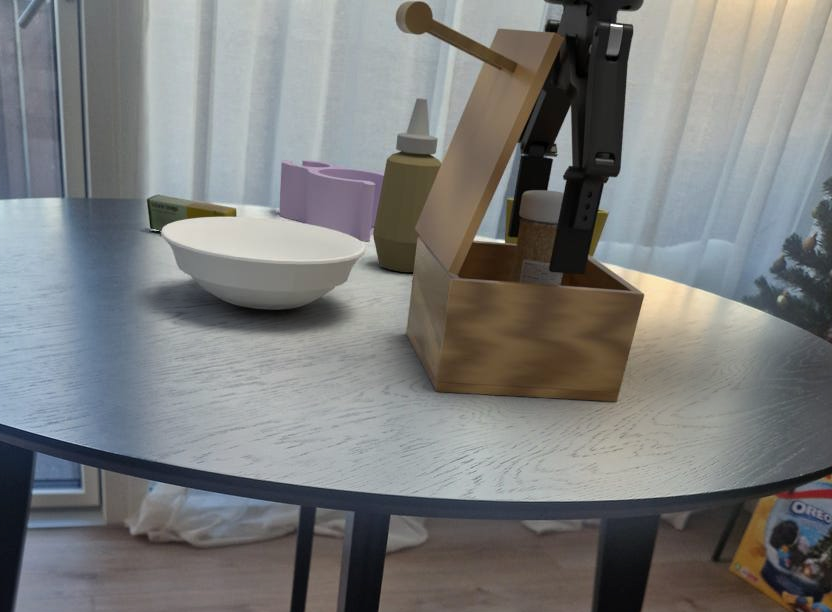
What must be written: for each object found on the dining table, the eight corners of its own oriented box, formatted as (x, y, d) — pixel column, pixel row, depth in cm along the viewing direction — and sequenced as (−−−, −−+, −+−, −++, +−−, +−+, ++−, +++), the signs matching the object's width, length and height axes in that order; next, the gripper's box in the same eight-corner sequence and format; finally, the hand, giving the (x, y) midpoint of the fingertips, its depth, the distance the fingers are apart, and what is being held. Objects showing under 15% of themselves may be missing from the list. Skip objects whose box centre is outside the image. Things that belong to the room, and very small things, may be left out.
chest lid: (506, 32, 76) (399, -25, 73) (564, 37, 62) (435, -32, 60) (422, 232, 84) (322, 188, 81) (457, 275, 71) (339, 224, 68)
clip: (258, 213, 134) (260, 160, 131) (322, 209, 142) (325, 159, 138) (352, 242, 123) (357, 185, 119) (416, 236, 131) (422, 182, 127)
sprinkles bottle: (502, 346, 85) (526, 186, 78) (551, 354, 84) (581, 192, 77) (493, 359, 82) (519, 193, 74) (545, 367, 81) (575, 199, 73)
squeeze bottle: (381, 257, 117) (398, 93, 107) (442, 267, 115) (465, 102, 105) (360, 268, 111) (376, 95, 101) (425, 279, 109) (447, 104, 99)
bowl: (318, 279, 104) (322, 218, 101) (391, 331, 89) (399, 261, 86) (142, 279, 97) (140, 213, 93) (190, 335, 82) (190, 260, 79)
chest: (560, 343, 91) (581, 248, 86) (617, 402, 78) (645, 294, 73) (405, 333, 89) (417, 235, 84) (435, 391, 76) (452, 279, 71)
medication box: (148, 231, 117) (144, 197, 115) (161, 227, 119) (157, 193, 117) (227, 246, 113) (225, 211, 111) (239, 241, 115) (238, 206, 112)
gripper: (510, -55, 76) (469, 222, 88) (610, -79, 56) (539, 286, 67) (597, -45, 77) (545, 228, 89) (726, -64, 57) (637, 293, 68)
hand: (542, 254), depth 78 cm, fingers open, 13 cm apart
